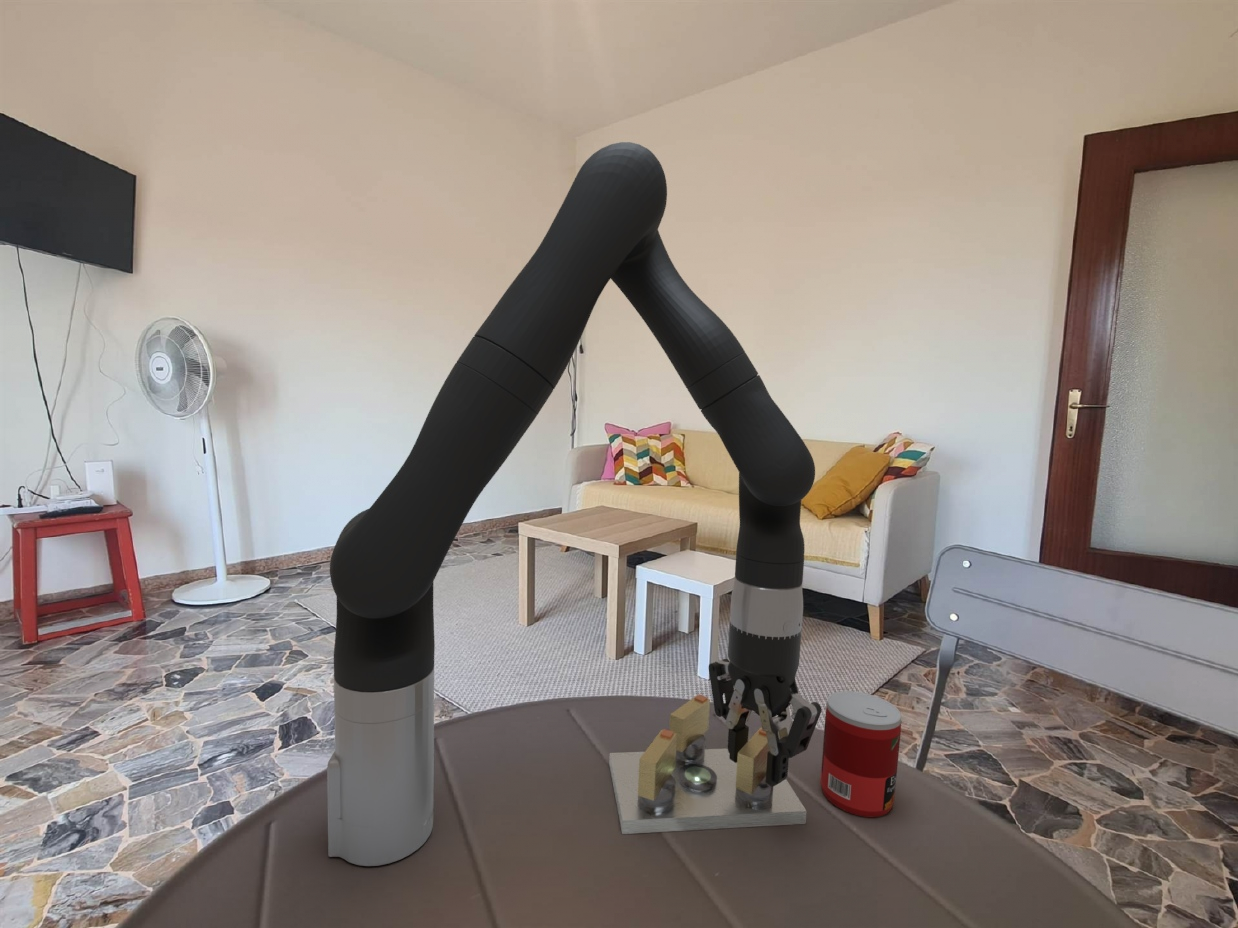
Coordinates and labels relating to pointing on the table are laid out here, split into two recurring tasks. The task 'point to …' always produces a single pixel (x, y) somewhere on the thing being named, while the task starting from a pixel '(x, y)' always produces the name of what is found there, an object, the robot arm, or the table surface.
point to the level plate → (699, 798)
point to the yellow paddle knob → (691, 730)
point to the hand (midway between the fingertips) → (755, 769)
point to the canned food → (860, 753)
